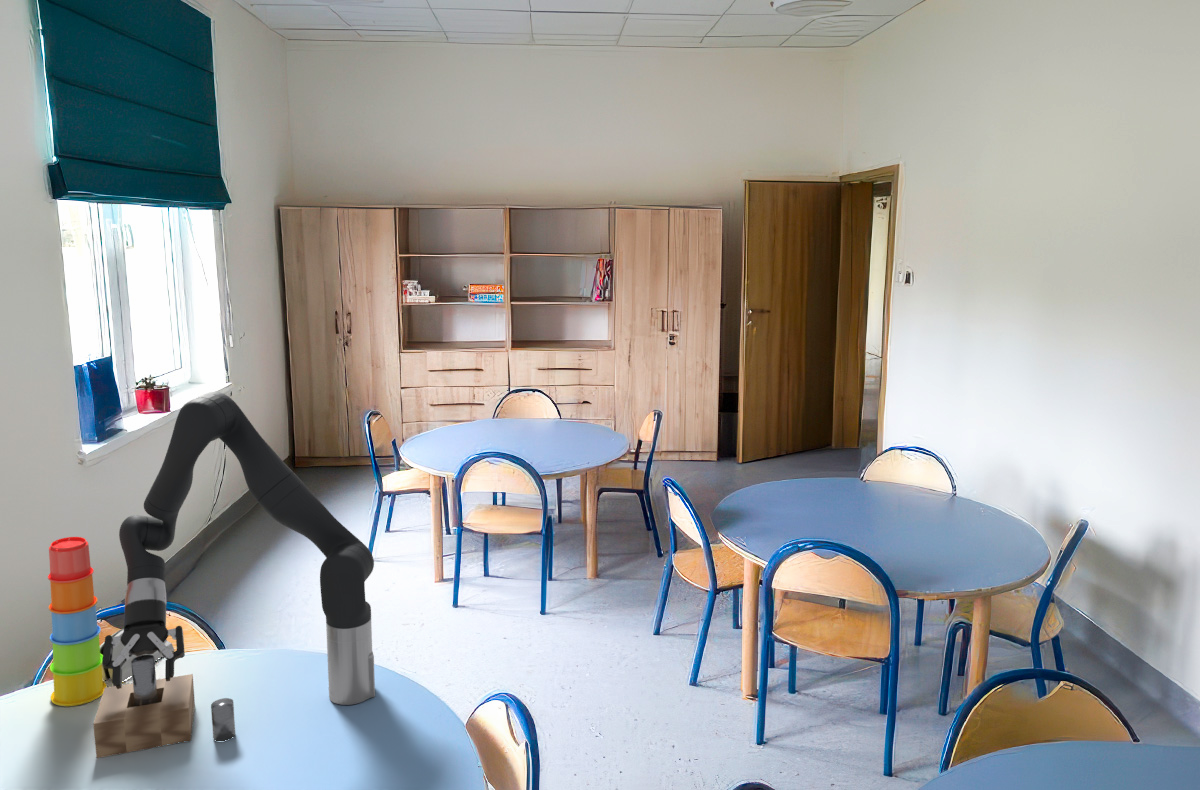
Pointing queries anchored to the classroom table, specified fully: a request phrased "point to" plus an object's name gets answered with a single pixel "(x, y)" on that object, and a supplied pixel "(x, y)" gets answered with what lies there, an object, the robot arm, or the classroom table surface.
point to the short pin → (223, 719)
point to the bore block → (144, 717)
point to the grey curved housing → (127, 666)
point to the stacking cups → (74, 625)
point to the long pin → (144, 680)
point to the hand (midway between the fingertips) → (143, 683)
